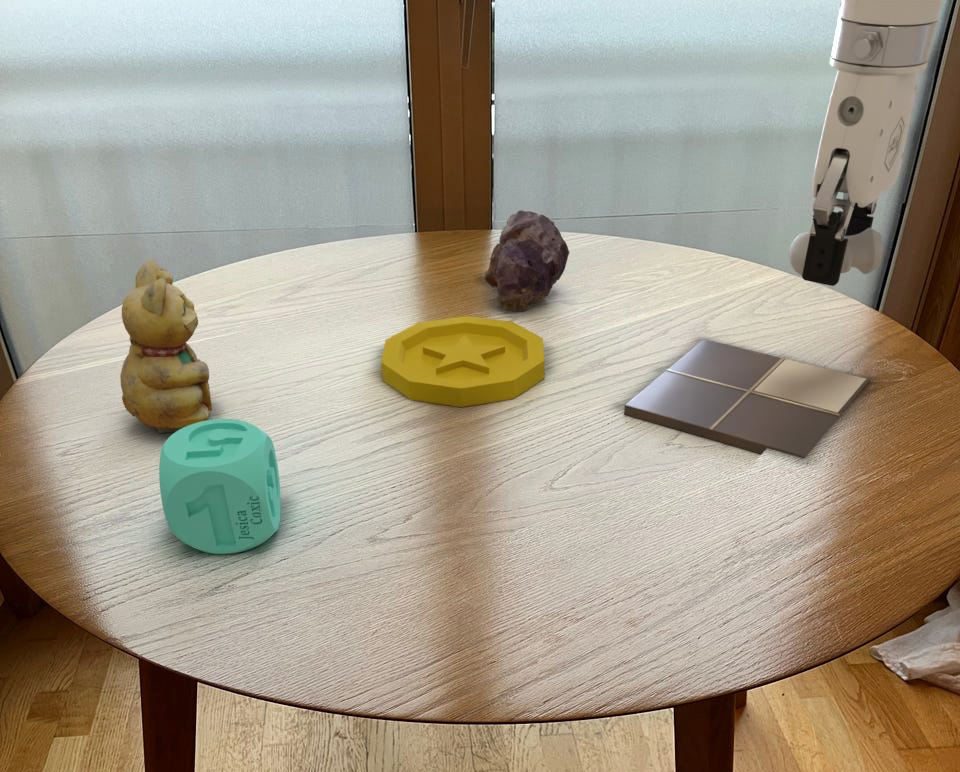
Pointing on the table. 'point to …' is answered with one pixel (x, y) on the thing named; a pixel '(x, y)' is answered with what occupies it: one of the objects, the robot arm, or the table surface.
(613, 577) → the table surface
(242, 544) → the decorative dice
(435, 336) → the decorative disc
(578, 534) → the table surface
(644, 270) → the table surface
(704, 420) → the board
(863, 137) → the robot arm
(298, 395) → the table surface
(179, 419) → the decorative figurine
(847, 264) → the smooth white sculpture
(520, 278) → the rock
